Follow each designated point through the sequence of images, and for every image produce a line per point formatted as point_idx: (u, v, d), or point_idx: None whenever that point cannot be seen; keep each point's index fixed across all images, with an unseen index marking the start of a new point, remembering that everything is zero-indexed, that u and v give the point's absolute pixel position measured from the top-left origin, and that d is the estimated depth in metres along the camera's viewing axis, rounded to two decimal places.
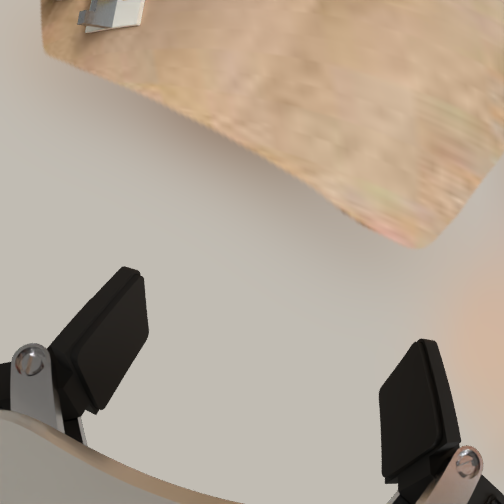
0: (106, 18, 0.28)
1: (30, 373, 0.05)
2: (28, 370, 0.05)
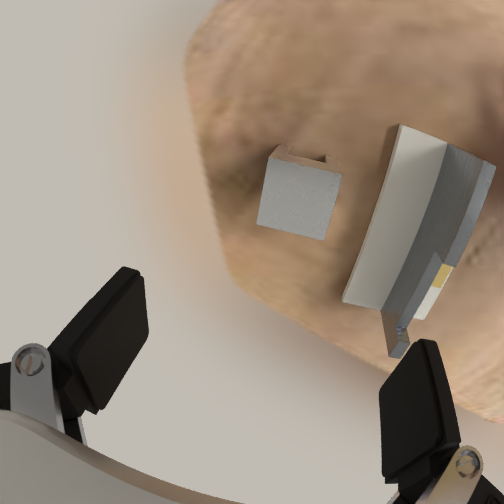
0: None
1: (30, 373, 0.05)
2: (28, 370, 0.05)
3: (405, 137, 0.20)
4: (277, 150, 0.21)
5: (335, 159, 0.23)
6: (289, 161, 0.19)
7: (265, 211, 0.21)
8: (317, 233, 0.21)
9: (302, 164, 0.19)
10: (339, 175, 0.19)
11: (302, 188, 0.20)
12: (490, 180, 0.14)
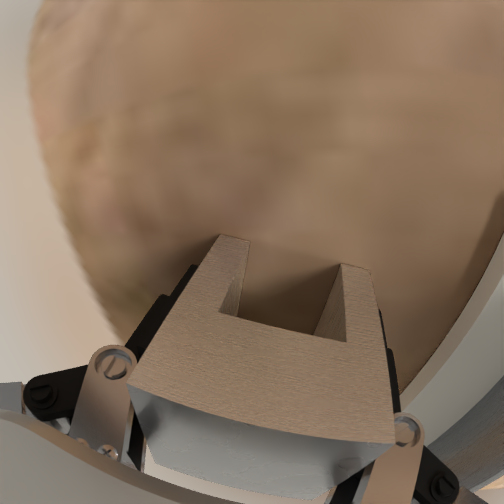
0: None
1: (109, 376, 0.06)
2: (107, 371, 0.06)
3: None
4: (192, 291, 0.07)
5: (367, 286, 0.08)
6: (202, 402, 0.05)
7: (166, 458, 0.07)
8: (296, 495, 0.06)
9: (251, 415, 0.05)
10: (384, 444, 0.04)
11: (254, 457, 0.05)
12: None
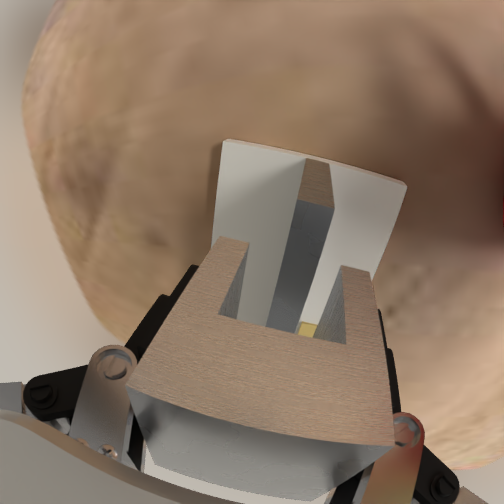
0: None
1: (109, 376, 0.06)
2: (107, 371, 0.06)
3: (229, 159, 0.15)
4: (191, 293, 0.07)
5: (367, 288, 0.08)
6: (201, 404, 0.05)
7: (165, 459, 0.07)
8: (296, 496, 0.06)
9: (251, 418, 0.05)
10: (383, 446, 0.04)
11: (253, 459, 0.05)
12: (320, 238, 0.09)
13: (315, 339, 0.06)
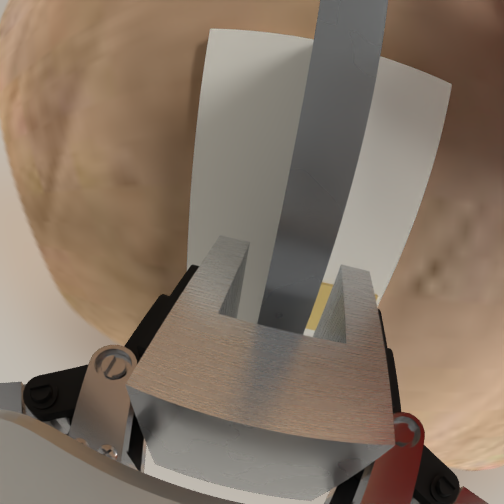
0: None
1: (109, 376, 0.06)
2: (107, 371, 0.06)
3: (218, 49, 0.10)
4: (191, 292, 0.07)
5: (367, 287, 0.08)
6: (201, 403, 0.05)
7: (165, 459, 0.07)
8: (296, 495, 0.06)
9: (251, 417, 0.05)
10: (383, 445, 0.04)
11: (254, 458, 0.05)
12: (373, 39, 0.04)
13: (315, 338, 0.06)
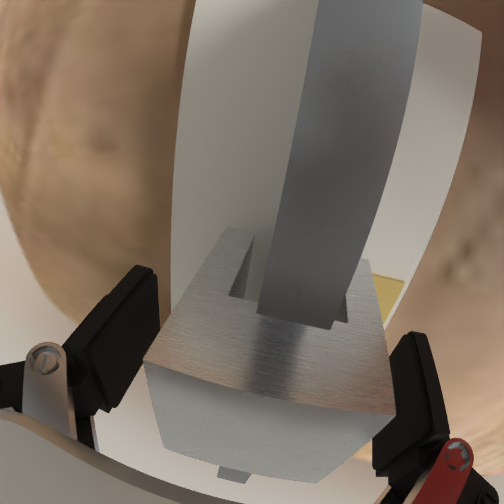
0: None
1: (44, 372, 0.05)
2: (42, 369, 0.06)
3: None
4: (202, 277, 0.08)
5: (366, 274, 0.09)
6: (214, 375, 0.05)
7: (175, 441, 0.07)
8: (302, 477, 0.07)
9: (261, 386, 0.05)
10: (385, 416, 0.05)
11: (262, 433, 0.06)
12: None
13: None
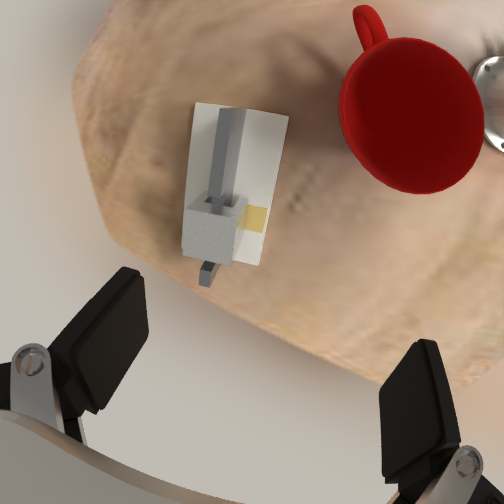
0: None
1: (30, 373, 0.05)
2: (28, 370, 0.05)
3: (198, 111, 0.29)
4: (197, 199, 0.30)
5: (245, 201, 0.31)
6: (200, 211, 0.27)
7: (187, 246, 0.29)
8: (225, 260, 0.29)
9: (209, 212, 0.27)
10: (235, 219, 0.27)
11: (210, 230, 0.28)
12: (229, 122, 0.23)
13: (225, 206, 0.29)
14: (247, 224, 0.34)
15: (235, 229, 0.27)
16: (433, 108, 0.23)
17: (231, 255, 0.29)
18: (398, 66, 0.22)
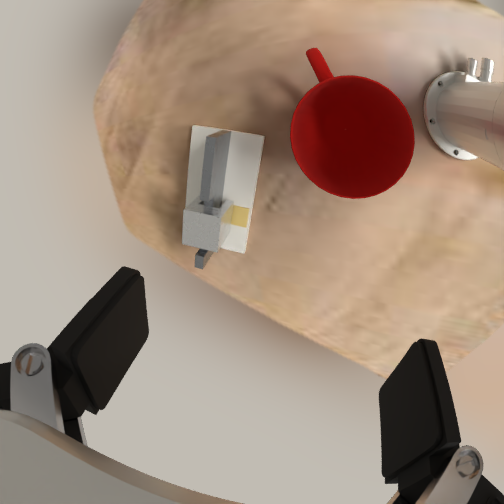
0: None
1: (30, 373, 0.05)
2: (28, 370, 0.05)
3: (195, 132, 0.38)
4: (193, 201, 0.39)
5: (230, 203, 0.40)
6: (194, 211, 0.37)
7: (185, 237, 0.39)
8: (213, 248, 0.39)
9: (200, 212, 0.37)
10: (219, 217, 0.36)
11: (202, 225, 0.37)
12: (213, 146, 0.32)
13: (214, 207, 0.38)
14: (234, 220, 0.44)
15: (219, 224, 0.37)
16: (382, 125, 0.32)
17: (217, 244, 0.38)
18: (350, 92, 0.30)
